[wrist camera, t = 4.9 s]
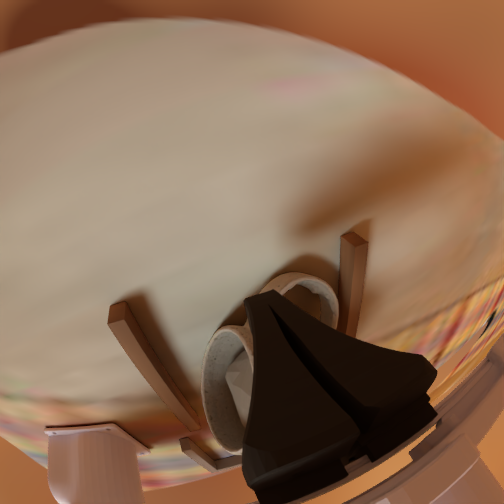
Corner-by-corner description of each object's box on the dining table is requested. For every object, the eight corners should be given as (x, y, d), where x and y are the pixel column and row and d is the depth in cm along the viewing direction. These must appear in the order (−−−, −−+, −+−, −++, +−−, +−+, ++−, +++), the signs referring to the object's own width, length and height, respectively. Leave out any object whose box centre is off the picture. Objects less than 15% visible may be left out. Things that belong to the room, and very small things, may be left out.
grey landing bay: (209, 464, 28) (211, 473, 27) (179, 439, 22) (181, 451, 21) (342, 415, 32) (347, 423, 31) (354, 376, 26) (361, 385, 25)
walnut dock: (187, 417, 21) (190, 431, 19) (110, 305, 13) (107, 324, 12) (339, 363, 23) (347, 374, 22) (353, 232, 16) (368, 242, 15)
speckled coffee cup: (286, 377, 22) (326, 448, 15) (193, 379, 18) (220, 472, 12) (346, 273, 18) (422, 344, 12) (238, 252, 15) (307, 359, 8)
